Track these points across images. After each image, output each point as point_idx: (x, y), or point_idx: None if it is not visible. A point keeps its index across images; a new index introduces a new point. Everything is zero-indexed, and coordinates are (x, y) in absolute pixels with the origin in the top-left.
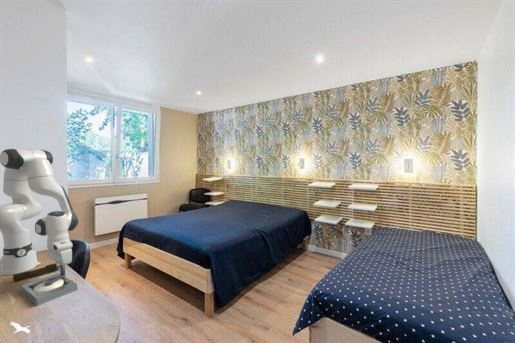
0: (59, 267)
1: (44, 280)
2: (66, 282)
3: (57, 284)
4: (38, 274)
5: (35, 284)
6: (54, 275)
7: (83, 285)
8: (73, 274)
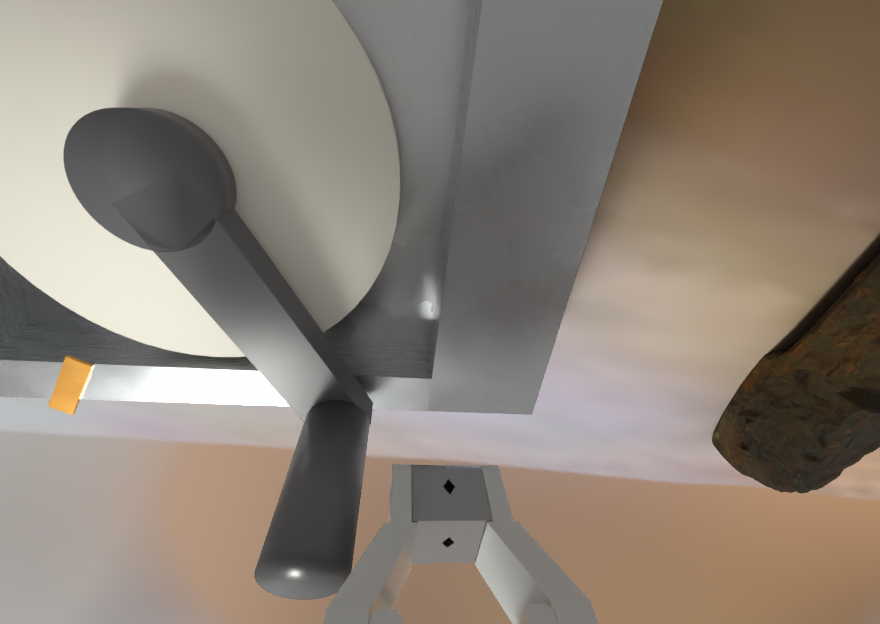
0: (390, 511)
1: (456, 217)
2: (137, 350)
3: (57, 250)
4: (847, 297)
5: (469, 66)
6: (502, 361)
7: None
8: (464, 456)
